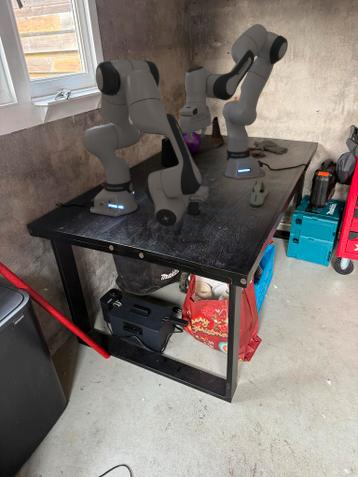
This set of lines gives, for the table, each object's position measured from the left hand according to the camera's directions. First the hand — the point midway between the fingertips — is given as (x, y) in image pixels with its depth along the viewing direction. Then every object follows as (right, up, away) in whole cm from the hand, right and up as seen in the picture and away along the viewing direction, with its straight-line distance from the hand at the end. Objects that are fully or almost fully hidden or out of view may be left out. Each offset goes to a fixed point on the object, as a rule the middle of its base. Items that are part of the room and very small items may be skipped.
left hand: (186, 185), depth 130 cm
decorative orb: (+5, +40, +103) cm, 111 cm away
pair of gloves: (+53, +39, +97) cm, 117 cm away
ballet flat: (+36, -1, +30) cm, 47 cm away
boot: (+27, +51, +121) cm, 134 cm away
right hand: (+5, +24, +22) cm, 33 cm away
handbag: (-6, +29, +86) cm, 91 cm away
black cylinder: (+4, -9, +19) cm, 22 cm away
